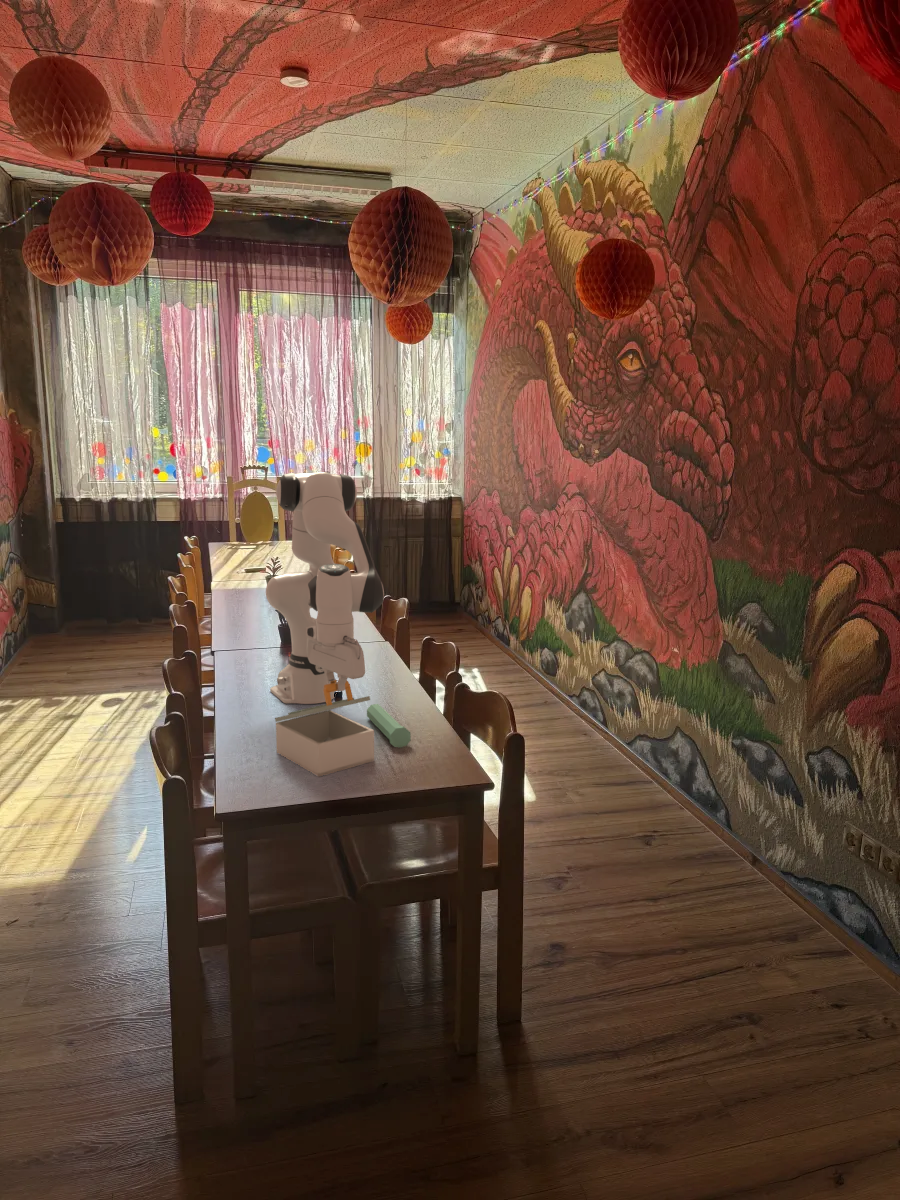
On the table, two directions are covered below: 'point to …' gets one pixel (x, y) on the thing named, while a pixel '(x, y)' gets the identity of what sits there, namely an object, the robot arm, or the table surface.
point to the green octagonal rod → (389, 726)
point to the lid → (328, 705)
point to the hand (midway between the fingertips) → (336, 688)
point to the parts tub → (325, 742)
